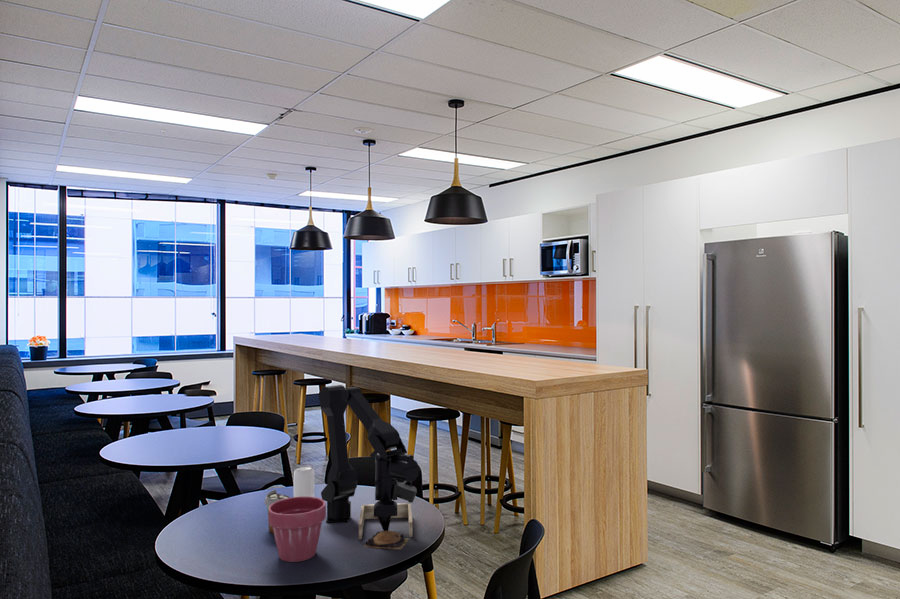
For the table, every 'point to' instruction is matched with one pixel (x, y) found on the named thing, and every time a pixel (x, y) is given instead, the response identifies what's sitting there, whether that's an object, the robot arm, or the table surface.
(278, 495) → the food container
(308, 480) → the can
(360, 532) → the frame
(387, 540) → the bread roll
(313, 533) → the plant pot
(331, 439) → the robot arm
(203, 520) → the table surface
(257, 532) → the table surface
